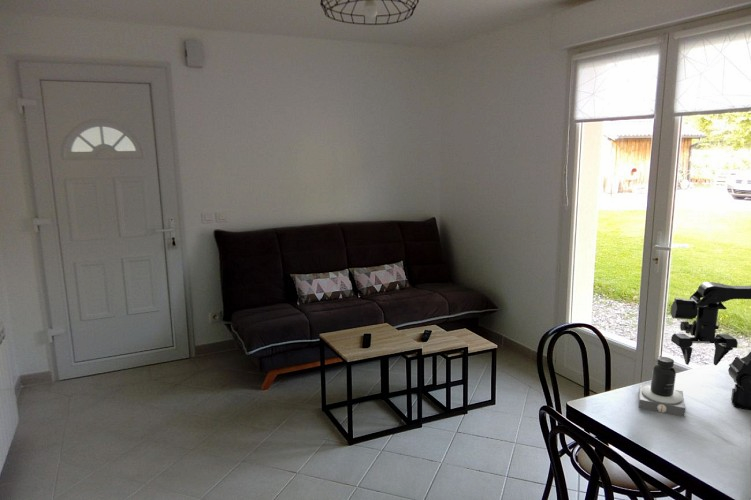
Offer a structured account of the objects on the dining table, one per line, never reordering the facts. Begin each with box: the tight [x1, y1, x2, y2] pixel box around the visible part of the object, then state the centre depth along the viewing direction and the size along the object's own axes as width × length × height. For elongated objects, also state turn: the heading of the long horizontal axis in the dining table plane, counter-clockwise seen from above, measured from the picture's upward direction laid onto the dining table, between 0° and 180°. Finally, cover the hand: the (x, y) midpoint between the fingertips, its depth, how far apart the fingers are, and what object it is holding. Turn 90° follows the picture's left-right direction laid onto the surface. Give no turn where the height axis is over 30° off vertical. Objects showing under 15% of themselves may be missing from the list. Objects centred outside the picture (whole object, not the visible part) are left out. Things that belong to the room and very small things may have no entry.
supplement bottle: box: [650, 356, 677, 397], centre depth 173 cm, size 7×7×12 cm
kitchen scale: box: [638, 383, 686, 418], centre depth 174 cm, size 13×14×4 cm
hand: (700, 364), depth 175 cm, fingers open, 9 cm apart
